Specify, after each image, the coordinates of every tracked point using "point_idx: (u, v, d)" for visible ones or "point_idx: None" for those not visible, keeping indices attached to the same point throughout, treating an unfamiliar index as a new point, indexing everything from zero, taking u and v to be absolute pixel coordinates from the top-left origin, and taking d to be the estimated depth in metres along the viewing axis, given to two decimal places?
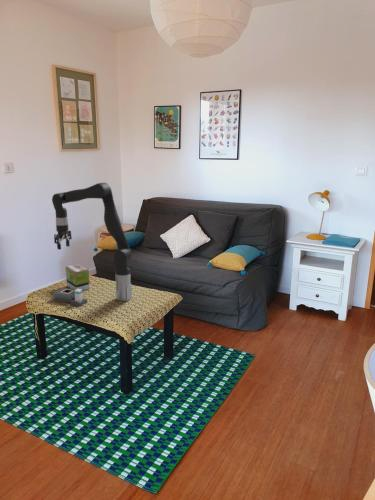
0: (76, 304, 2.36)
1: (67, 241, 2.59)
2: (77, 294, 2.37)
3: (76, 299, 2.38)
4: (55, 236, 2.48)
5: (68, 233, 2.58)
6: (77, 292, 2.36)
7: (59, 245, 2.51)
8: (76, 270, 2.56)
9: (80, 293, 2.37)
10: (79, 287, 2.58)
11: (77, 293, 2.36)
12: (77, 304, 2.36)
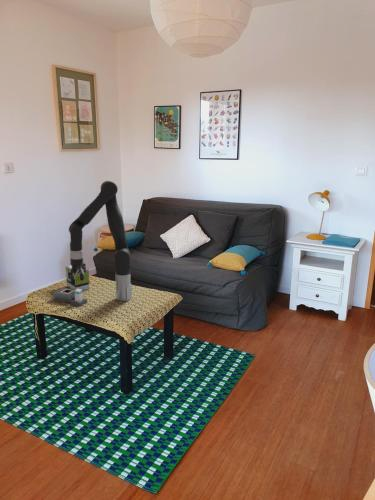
0: (76, 304, 2.36)
1: (81, 275, 2.39)
2: (77, 294, 2.37)
3: (76, 299, 2.38)
4: (69, 271, 2.28)
5: (82, 266, 2.39)
6: (77, 292, 2.36)
7: (73, 280, 2.31)
8: None
9: (80, 293, 2.37)
10: (79, 287, 2.58)
11: (77, 293, 2.36)
12: (77, 304, 2.36)
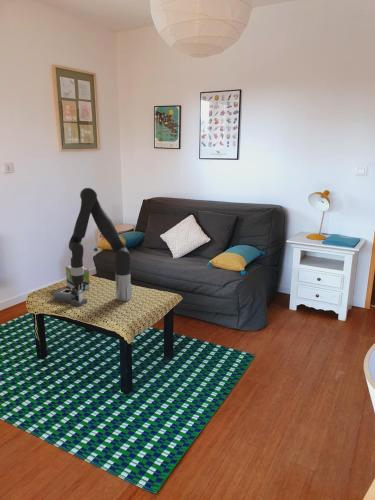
0: (76, 304, 2.36)
1: None
2: None
3: None
4: (71, 290, 2.32)
5: (83, 283, 2.41)
6: None
7: (77, 297, 2.36)
8: None
9: (80, 293, 2.37)
10: None
11: None
12: (77, 304, 2.36)
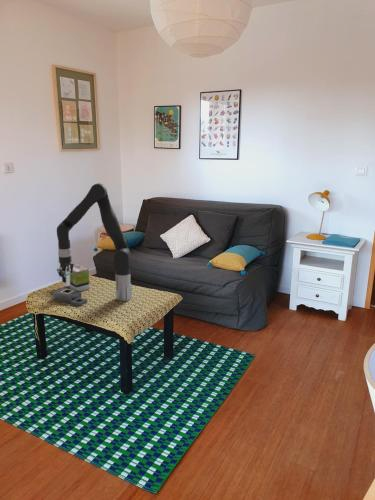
0: (76, 304, 2.36)
1: None
2: None
3: None
4: (58, 271, 2.36)
5: (70, 265, 2.45)
6: None
7: (64, 278, 2.40)
8: (76, 270, 2.56)
9: (67, 275, 2.41)
10: (79, 287, 2.58)
11: None
12: (77, 304, 2.36)
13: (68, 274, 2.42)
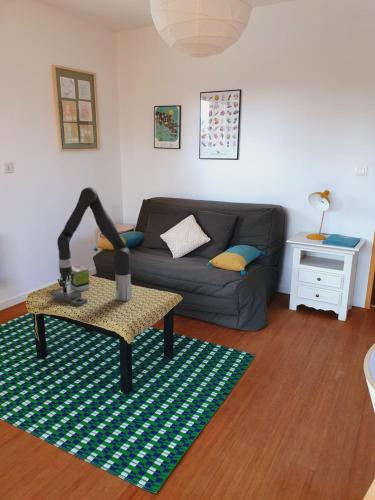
0: (76, 304, 2.36)
1: None
2: None
3: None
4: (59, 281, 2.37)
5: (71, 275, 2.47)
6: None
7: (65, 288, 2.42)
8: (76, 270, 2.56)
9: (68, 285, 2.43)
10: (79, 287, 2.58)
11: None
12: (77, 304, 2.36)
13: (69, 284, 2.44)
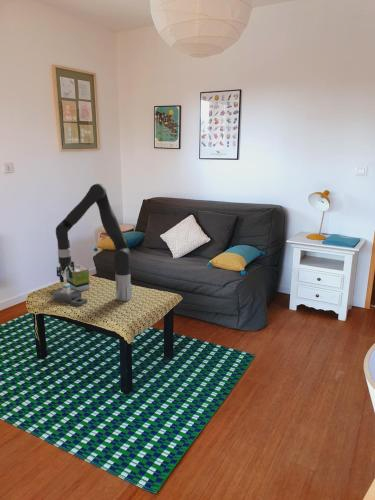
0: (76, 304, 2.36)
1: (70, 273, 2.46)
2: (65, 288, 2.43)
3: None
4: (57, 269, 2.34)
5: (71, 264, 2.45)
6: (65, 286, 2.42)
7: (62, 278, 2.38)
8: (76, 270, 2.56)
9: (68, 287, 2.44)
10: (79, 287, 2.58)
11: (65, 287, 2.43)
12: (77, 304, 2.36)
13: (69, 286, 2.44)
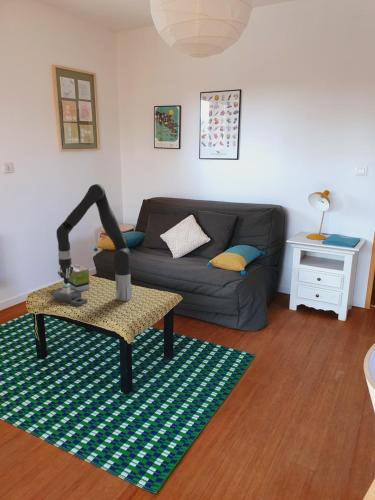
0: (76, 304, 2.36)
1: None
2: (65, 288, 2.43)
3: None
4: (59, 274, 2.37)
5: (70, 268, 2.45)
6: (65, 286, 2.42)
7: (66, 279, 2.42)
8: (76, 270, 2.56)
9: (68, 287, 2.44)
10: (79, 287, 2.58)
11: (65, 287, 2.43)
12: (77, 304, 2.36)
13: (69, 286, 2.44)
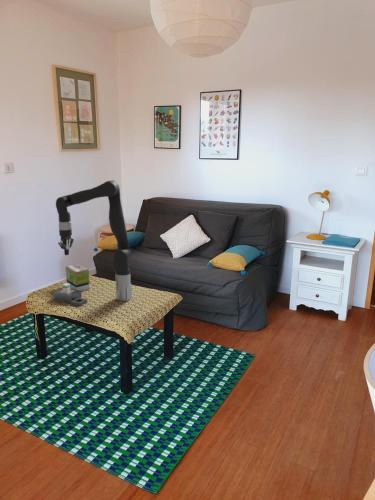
0: (76, 304, 2.36)
1: None
2: (65, 288, 2.43)
3: None
4: (60, 244, 2.40)
5: (70, 240, 2.48)
6: (65, 286, 2.42)
7: (66, 251, 2.45)
8: (76, 270, 2.56)
9: (68, 287, 2.44)
10: (79, 287, 2.58)
11: (65, 287, 2.43)
12: (77, 304, 2.36)
13: (69, 286, 2.44)
